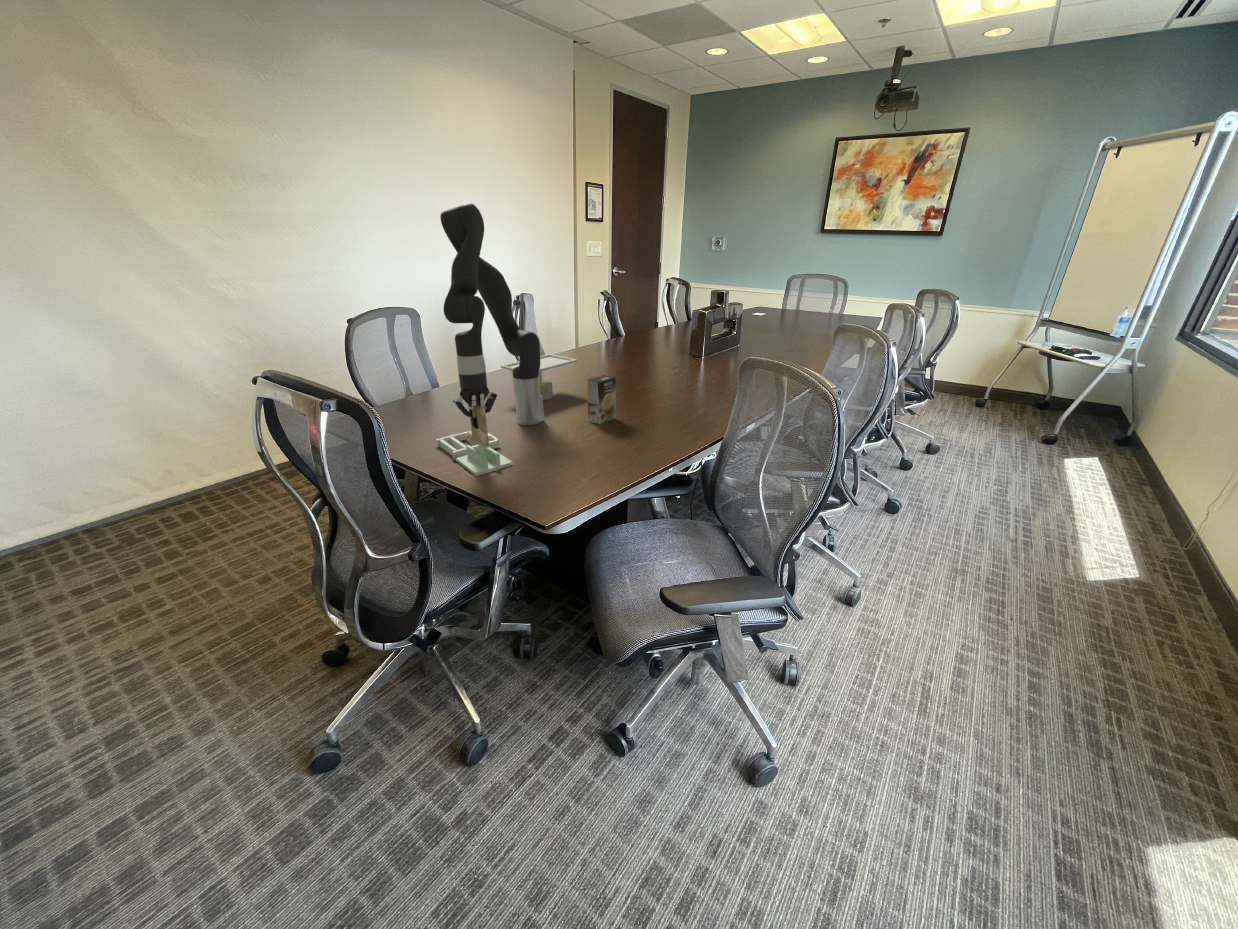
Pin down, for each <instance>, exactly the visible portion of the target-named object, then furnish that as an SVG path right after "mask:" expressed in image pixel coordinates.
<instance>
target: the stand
mask: <svg viewBox="0 0 1238 929" xmlns="http://www.w3.org/2000/svg"><path fill="white" fill-rule="evenodd" d="M465 446H466V449H467V455H464V456H460V457H457V458H455V459H456V460H455V462H457V463H458V464H459V465H461V466H462V467H463V468H465V469H466V470H468V471H469V472H470V473H471V474H473V475H474V476H476V477H477V476H480V475H484V474H487V473H490V472H494V471H497V470H500V469H505V468H507V467H511V466H513V465H514V463H513V461H512V460H510V459H509V458H507V457H506V456H504V455H502V454H501V453H499V452H498V451H496V450H495V449H492V448H490V447H488V448H483V447H482V446H480V445H479V444H478V446H479V451H478V450H476V449H475V448H473V447H472V446H473V445H471V444H467V445H465Z"/></svg>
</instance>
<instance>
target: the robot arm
mask: <svg viewBox="0 0 1238 929" xmlns="http://www.w3.org/2000/svg"><path fill="white" fill-rule="evenodd" d="M439 218H440V222H441V226H442V229H443V231H444V233H445V235H446V237H447V238H448V240H449V242H450V243H451V246H452V247H453V248H454V250H455V251H456V255H455V257H454V259H453V261H452V265H451V270H450V272H451V275H450V277H451V278H450V280H451V281H450V282H451V283H450V287H449V289H448V292H447V294H446V297H445V299H444V302H443V303H444V304H443V314H444V317H445V319H446V320H447V321H448V322H449V323H451V324H472V327H471V328H470V329H469V330H464V331H461V332H458V333H456V335H454V336H455V337H454V343H455V344H454V345H455V350H456V365H457V373H458V380H459V387H460V392H459V396H458V397H457V398H456V399H453V400H452V403H453V404H454V405H455V406H456V407H457V408H458V409H459V411H460V412H461V413H462V414H463V415H464V416H465V417H468V418H470V417H471V422H470V426H471V425H472V427H474V428H475V429H478V423H477V417H476V416H477V414H476V409H477V407H476V405H479V406H481V407H483V408H485V413H486V414H488V413H490V412H491V410H492V408H493V407H494V404H495V402H496V400H497V397H498V394H497V393H495V392H493V391H490V388H488V381H487V379H488V378H487V371H486V370H487V366H486V362H485V358H484V351H483V342H482V330H483V323H484V317H485V313H486V312H485V311H486V308H487V309H488V311H489V313H490V315H491V317H492V319H493V321H494V322H495V325H496V327H497V329H498V332H499V334H500V337H501V338H502V342H503V345H504V347H505V349H506V350H507V352H508V353H509V354H510V355H512V356H515V357H518V358H519V361H520V364H519V366H518V367H515V368H514V369H513V371H512V381H513V391H514V392H513V393H514V402H515V404H514V405H515V414H516V422H517V424H518V425H522V426H535V425H537V424H540V423H542V422H543V421H545V415H544V414H545V412H544V400H543V397H542V396H541V395H540V384H539V369H540V356H541V343H540V339H539V336H538V335H537V334H536V333H535V332H533V331H527V330H524V329H521V328H520V327H519V325H518V323H517V321H516V319H515V317H514V314H513V296H512V292H511V289H510V288H509V285H508V283H507V281H506V279H505V277H504V275H503V274H502V273H501V271H500V270H499V269H497V268H496V267H495V266H493V265H492V264H491V263H489V262H487V261H486V260H485V259H483V257H481V256H480V255H481V251H482V246H483V241H484V235H485V223H484V218H483V216H482V214H481V212H480V209H479V208H478V207H477V206H476V205H475V204H474V203H472V202H470V203H469V202H467V203H464V204H460V205H457V206H454V207H451V208H448V209H446V210H443V211H442V212H441V213H440V217H439ZM477 293H479V294H480V296H481V297H479V296H477V295H476V294H477ZM485 305H486V306H485ZM464 402H465V403H466V404H467V408H468V409H467V408H466V407H465V406H464Z"/></svg>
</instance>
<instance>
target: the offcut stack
mask: <svg viewBox="0 0 1238 929" xmlns="http://www.w3.org/2000/svg"><path fill="white" fill-rule="evenodd" d="M466 432H467V431H466ZM467 434H468V435H467V440H466V442H468V443H469V445H471V446H474V445H478V443H476V442H475V441H473V439H472V431H471V430H468V432H467ZM491 435H492V434H491ZM491 435H489V434H488V440H489V441H491V439H492V438H491Z"/></svg>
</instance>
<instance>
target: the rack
mask: <svg viewBox="0 0 1238 929" xmlns="http://www.w3.org/2000/svg"><path fill="white" fill-rule="evenodd" d="M468 431H469V430H468ZM468 431H465V432H460V433H456V434H452V435H451V434H450V435H448V436H443V437H440V438H436V439H435V445H436V447H437V448H441V449H442V450H444V451H445V452H447V453H448V454H449V455H451V456H452V459H453V460H455V461H456V459H455V458H457V457H460V456H464V455H467V449H466V445H465V444H464V443H462V442H464V441H467V435H468V434H467V432H468ZM488 434H489V435H491V438H492V439H491V441H489V447H490V448H492V449H493V450H495V449H498V448H500V441H499V438H498V437H497V436H495V435H493V434H491V433H490V432H488ZM463 440H464V441H463ZM471 446H472V447H473V448H475V449H476V450H478V451H479V446H478V445H474V446H473V445H471Z"/></svg>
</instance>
